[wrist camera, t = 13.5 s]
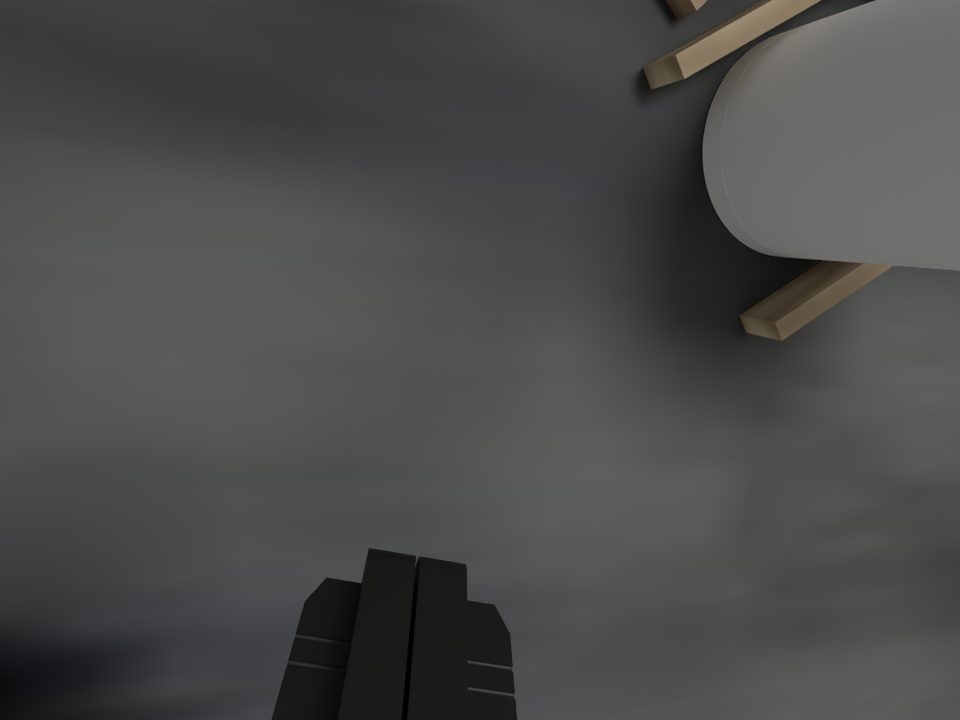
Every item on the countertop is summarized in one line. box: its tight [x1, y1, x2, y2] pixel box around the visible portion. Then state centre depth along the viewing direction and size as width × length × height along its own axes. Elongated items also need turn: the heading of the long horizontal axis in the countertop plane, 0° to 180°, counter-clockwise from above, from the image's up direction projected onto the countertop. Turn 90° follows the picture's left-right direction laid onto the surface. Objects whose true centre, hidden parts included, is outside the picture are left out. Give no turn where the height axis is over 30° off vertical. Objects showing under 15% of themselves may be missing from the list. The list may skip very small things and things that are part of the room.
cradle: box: [643, 0, 893, 341], centre depth 38 cm, size 16×18×5 cm
